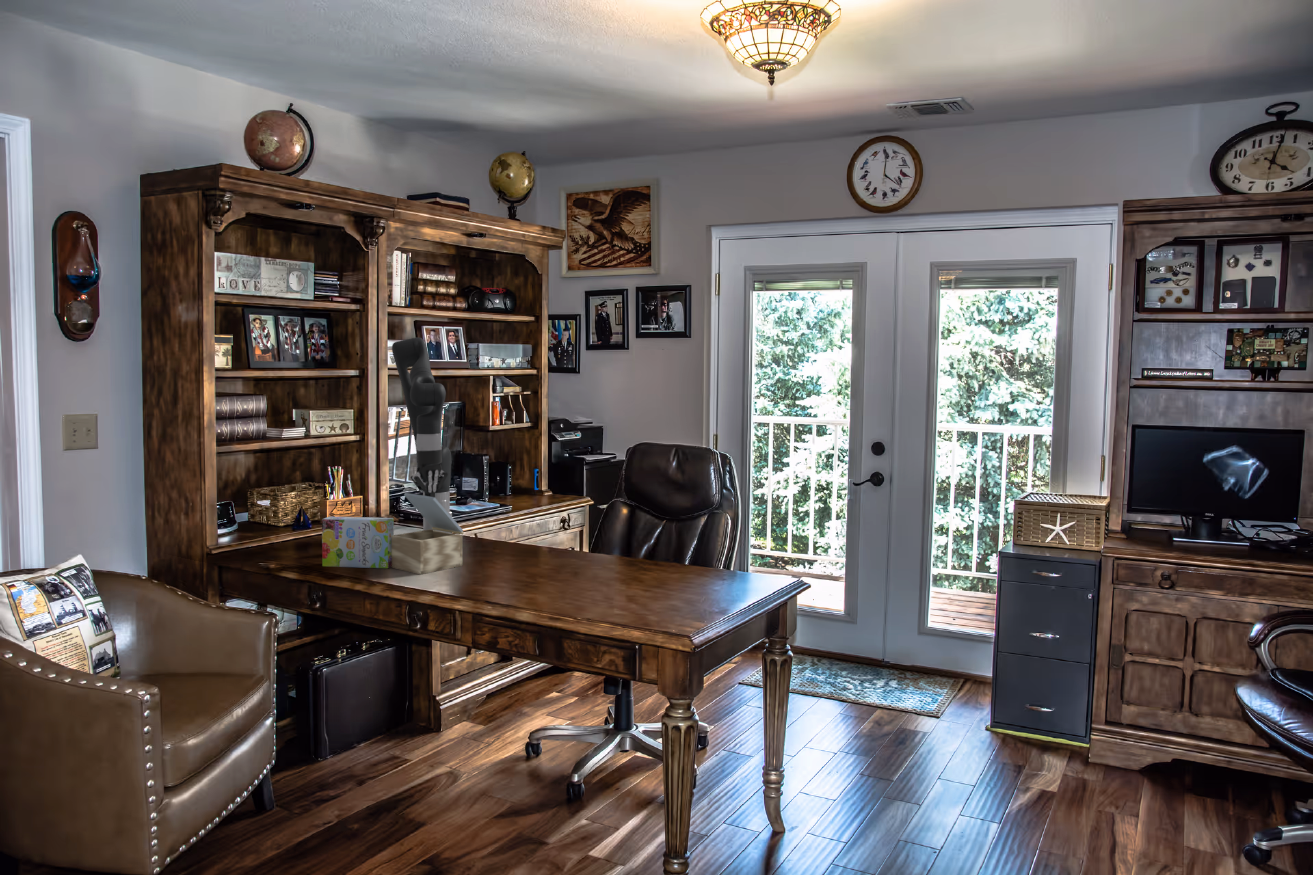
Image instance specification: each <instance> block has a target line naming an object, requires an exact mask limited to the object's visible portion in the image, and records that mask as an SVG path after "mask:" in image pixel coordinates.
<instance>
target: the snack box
mask: <svg viewBox="0 0 1313 875" xmlns="http://www.w3.org/2000/svg"><path fill="white" fill-rule="evenodd" d="M394 520H395V519H394V517H368V516H367V517H365V516H364V517H363V516H360V517H358V516H354V517H353V516H327V517H325V518H322V519H321V546H322V547H321V551H322V552H321V555H322V557H321V558H322V560H321V561H322V562H321V563H322V565H321V566H322V567H330V568H331V567H334V568H335V567H336V568H337V567H338V568H359V569H360V568H364V569H366V568H367V569H368V568H369V569H388V568H392V540H391V536H392V535H395V534H394V530H395V528H394V527H395V526H394V525H395V524H394Z"/></svg>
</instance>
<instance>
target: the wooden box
mask: <svg viewBox="0 0 1313 875" xmlns="http://www.w3.org/2000/svg"><path fill="white" fill-rule="evenodd" d="M391 540H392V566H391V568H392V569H395V570H396V569H397V570H400V571H404V572H407V573H413V574H417V575H424V574H425V575H426V574H429V573H435V572H440V571H444V569H445V570H450V569H453V568H454V567H455V568H460V567H463V566H464V565H463V535H462V534H456V533H452V534H451V533H445V532H440V531H434V530H433V529H429V530H423V529H422V530H419V531H410V532H404V533H399V534H394V535H392V536H391Z"/></svg>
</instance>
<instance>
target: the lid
mask: <svg viewBox="0 0 1313 875" xmlns="http://www.w3.org/2000/svg"><path fill="white" fill-rule="evenodd" d="M403 495H404V497H405V498H406V499H407V500H408V501H409V502H410V504H411V505H412V506H413V507H414V508H415V509H416V510H417V511H418V512H419V513H420V514H421V516H422V518H423V517H424V518H425V519H426V520H427V521H428V522H429V523H430V525H431V526H432V529H435V530H440V531H445V532H451V533H452V534H460V535H461V536H463V535H464V530H463V528H462V527H461V526H460V525H459V524H458V523H457V521H456V520H455V519H454V518H453V516H452V517H451V516H450V515H449V513H448V512H447V511H446V510H445V509H444V508H443V506H442V505H441V504H440V503H439V502H438V501H437V499H436V498H435V497H429V496H423V494H416V493H409V492H405V493H404V494H403Z"/></svg>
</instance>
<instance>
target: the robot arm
mask: <svg viewBox="0 0 1313 875" xmlns="http://www.w3.org/2000/svg"><path fill="white" fill-rule="evenodd" d="M426 344H427V343H426V342H425V340H424V339H423V338H422V337H420V336H419V337H411V338H407V339H401V340H398V341H395V342H393V343H392V346H391V352H392V356H393V361H394V363H395V364H394V365H395V366H396V370H397V374H398V376H399V380H400V382H401V387H402V390H403V391H402V392H403V395H404V401H405V405H406V411H407V413H408V418H409V421H410V424H411V425H410V426H411V429H412V433H413V439H414V445H415V451H416V454H415V456H416V464H417V468H416V472H415V474H414V475H411V476H410V480H411V481H412V482H413V484H414V485H415V487H416V488H417V489H418V491H419V492H421V491H422V495H423V496H429V497H435V498H436V499H437V501H438V502H439V503H440V504H441V505H442V506H443V508H444V509H445V510H446V511H447V512H448V513H449V515H450V516H451V517H452V518H453V513H452V511H451V508H450V506H451V502H450V500H451V499H450V498H451V496H450V495H451V494H450V492H451V491H450V490H451V488H450V487H451V478H452V475H451V473H452V452H451V450H450V448H449V447H447V446H442V436H441V417H442V413H443V412H442V411H443V407H444V404H445V401H446V396H447V392H446V388H445V386H444V385H443V384H442V383H439V382H436V381H435V376H434V375H433V372H432V370H431V361H430V356H429V351H428V347H427V345H426ZM409 368H410V370H408V369H409ZM422 518H423V520H422V521H423V522H422V525H423V529H422V531H423V530H429V529H432V526H431V525H430V523H429V522H428V521H427V520H426V519H425V518H424V517H423V516H422ZM433 530H434V531H440V530H435V529H433ZM440 532H445V531H440ZM445 533H451V532H445ZM451 534H453V533H451Z"/></svg>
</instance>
